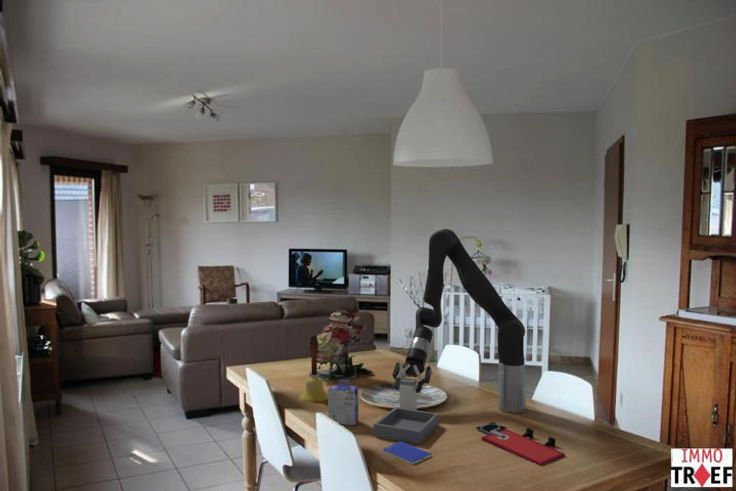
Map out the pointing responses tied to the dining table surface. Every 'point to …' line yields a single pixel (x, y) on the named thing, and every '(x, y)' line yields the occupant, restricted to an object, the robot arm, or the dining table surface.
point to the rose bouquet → (339, 347)
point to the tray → (406, 425)
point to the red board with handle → (520, 444)
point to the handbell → (314, 378)
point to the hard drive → (406, 452)
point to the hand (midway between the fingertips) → (406, 390)
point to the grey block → (408, 394)
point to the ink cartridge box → (343, 403)
